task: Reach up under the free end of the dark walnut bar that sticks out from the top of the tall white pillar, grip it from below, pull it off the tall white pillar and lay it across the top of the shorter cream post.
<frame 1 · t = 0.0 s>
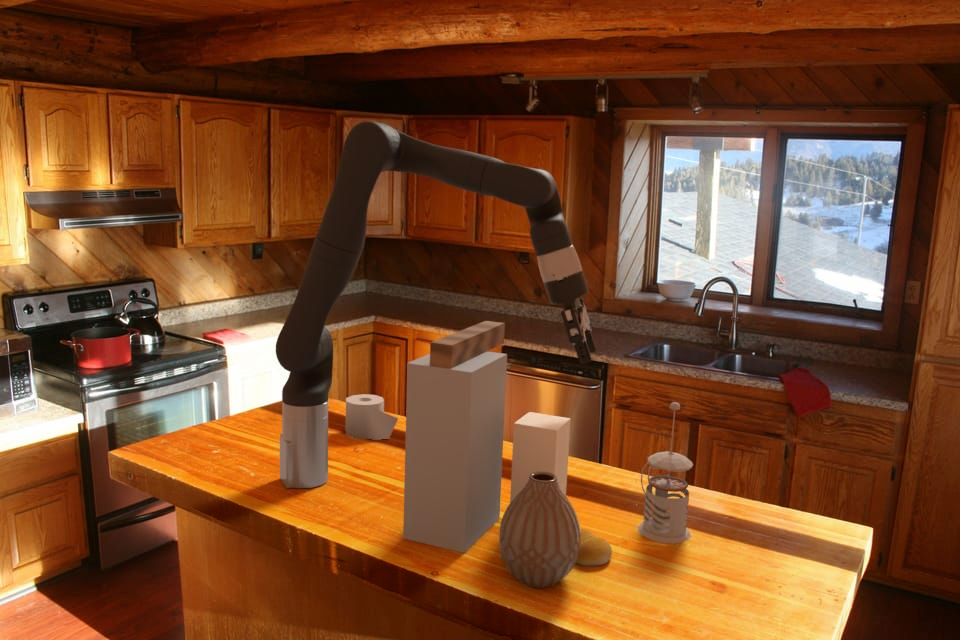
hand: (588, 357, 151), 31 cm above the kitchen island, tool tilted 20°, fingers open, 8 cm apart
tall white pillar: (452, 528, 149), on the kitchen island
bread roll: (584, 556, 141), on the kitchen island
vase: (537, 579, 132), on the kitchen island
toilet tissue: (368, 435, 200), on the kitchen island
french press: (660, 530, 152), on the kitchen island
walnut bar: (469, 353, 148), point 32 cm above the kitchen island, touching tall white pillar
post: (536, 530, 150), on the kitchen island
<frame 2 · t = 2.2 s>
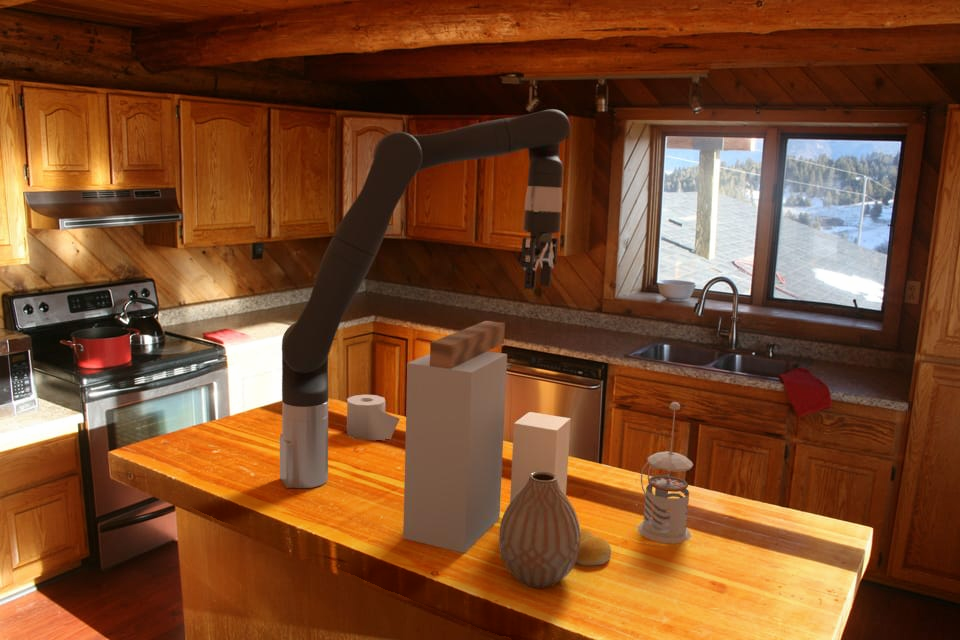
hand: (537, 287, 170), 41 cm above the kitchen island, tool pointing down, fingers open, 8 cm apart
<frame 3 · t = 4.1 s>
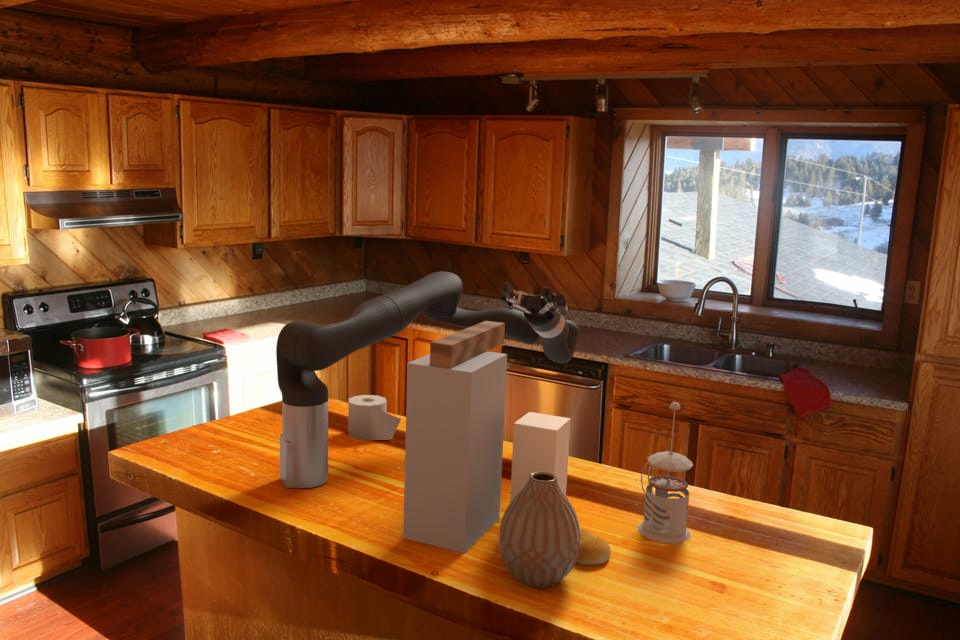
hand: (524, 288, 169), 41 cm above the kitchen island, tool pointing upward, fingers open, 8 cm apart
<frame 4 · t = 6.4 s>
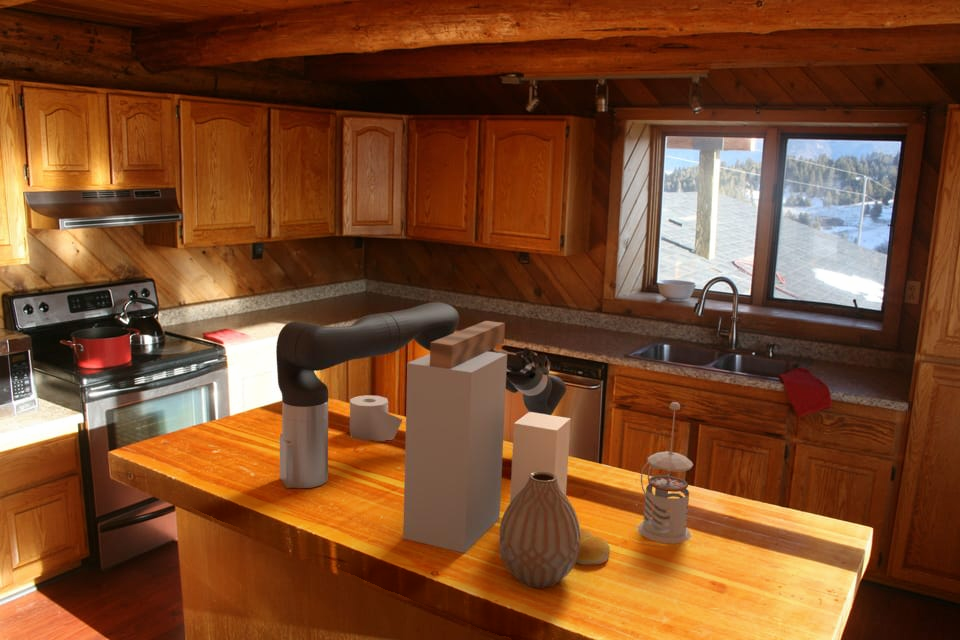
hand: (505, 348, 163), 30 cm above the kitchen island, tool pointing upward, fingers open, 8 cm apart
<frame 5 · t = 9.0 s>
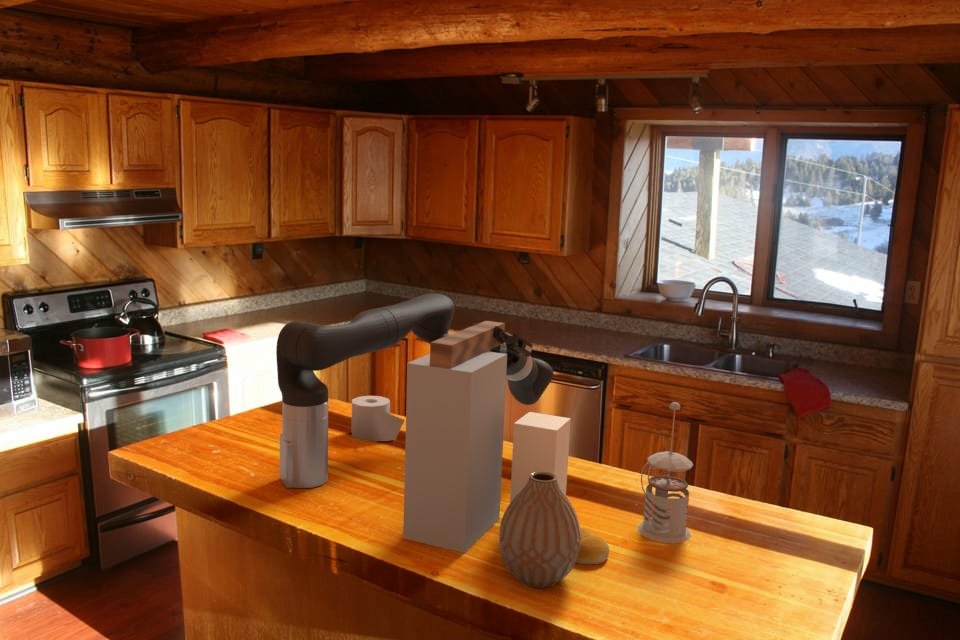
hand: (484, 329, 153), 35 cm above the kitchen island, tool pointing upward, fingers closed on walnut bar, 4 cm apart
walnut bar: (469, 353, 148), point 32 cm above the kitchen island, touching gripper, tall white pillar
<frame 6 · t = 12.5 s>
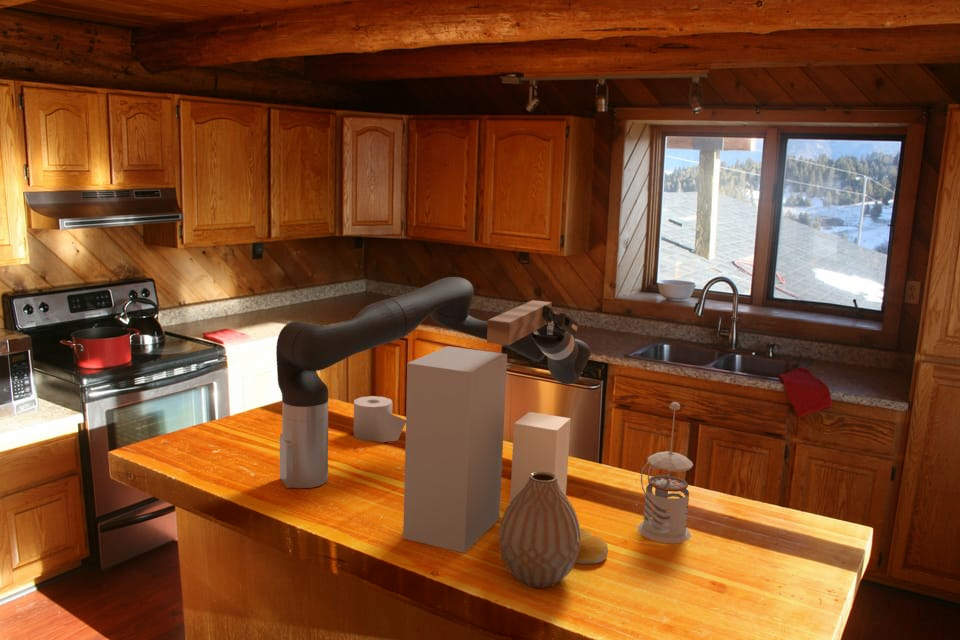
hand: (533, 308, 156), 39 cm above the kitchen island, tool pointing upward, fingers closed on walnut bar, 4 cm apart
walnut bar: (520, 331, 151), point 36 cm above the kitchen island, touching gripper
when the fingers open (26 cm above the kitchen island, at t = 16.2 s): walnut bar drops 2 cm, resting on post.
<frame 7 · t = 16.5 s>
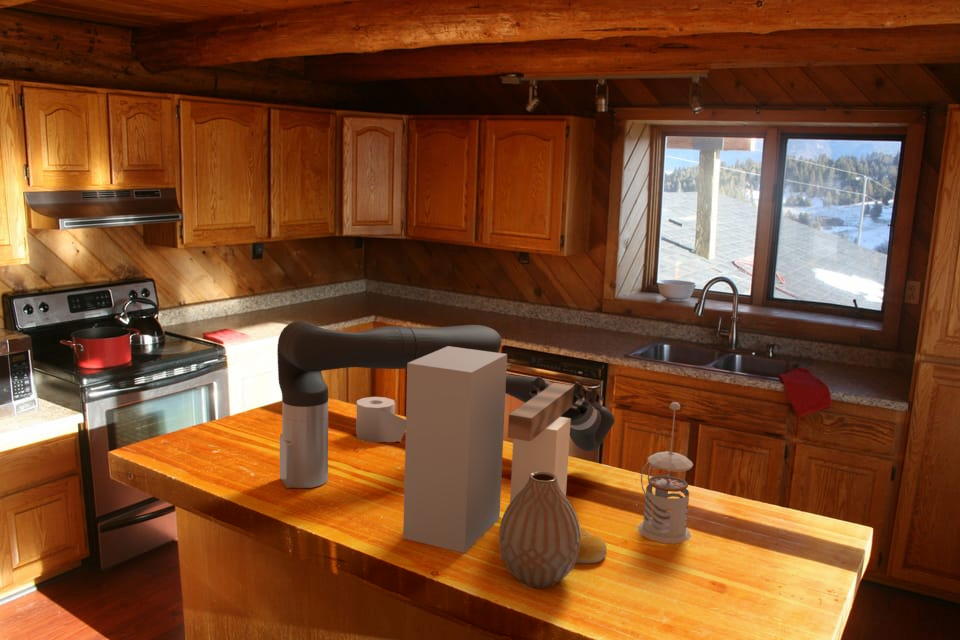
hand: (556, 384, 152), 26 cm above the kitchen island, tool pointing upward, fingers open, 7 cm apart
walnut bar: (542, 420, 146), point 21 cm above the kitchen island, touching post
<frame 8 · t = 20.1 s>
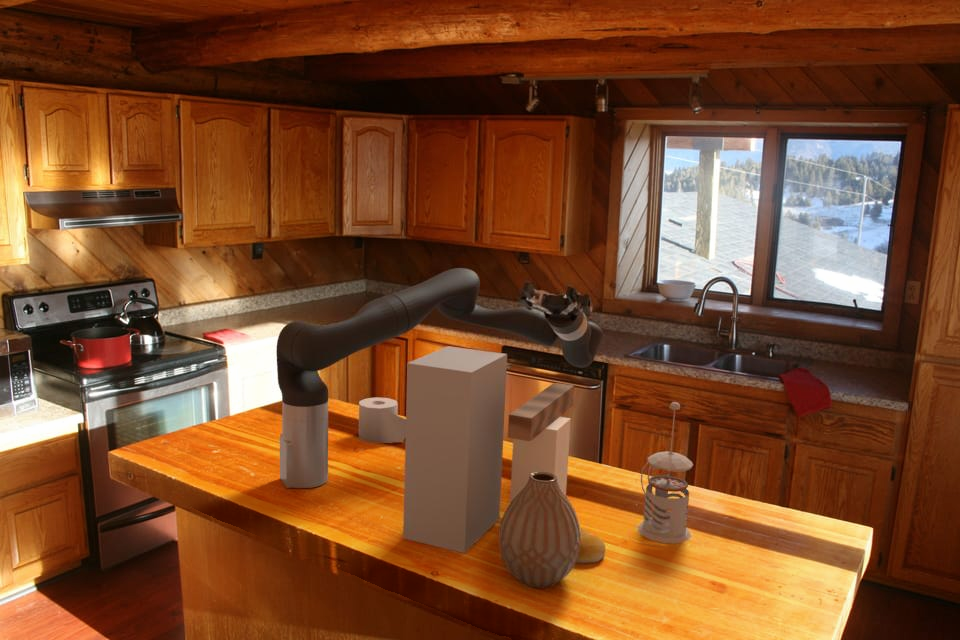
hand: (547, 287, 157), 43 cm above the kitchen island, tool pointing upward, fingers open, 8 cm apart
at the end: walnut bar inside the target area on the post (0.1 cm from its centre), point 21.0 cm above the post's base; walnut bar touching post; the gripper is holding nothing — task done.
